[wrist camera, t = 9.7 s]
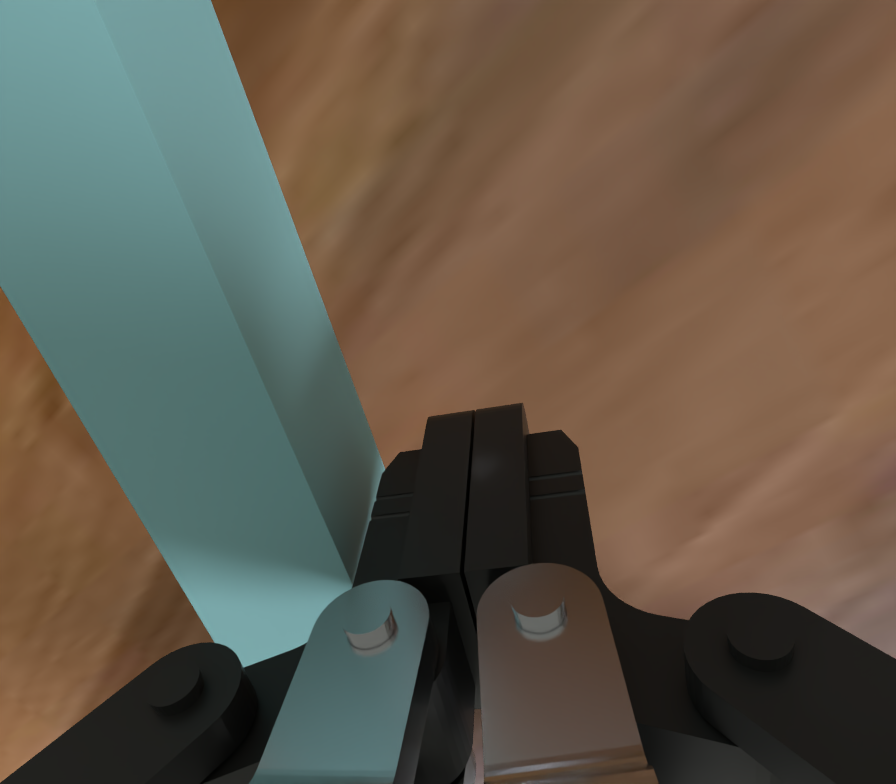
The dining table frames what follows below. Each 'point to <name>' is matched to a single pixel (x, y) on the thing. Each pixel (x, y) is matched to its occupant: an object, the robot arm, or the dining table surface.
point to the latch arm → (182, 308)
